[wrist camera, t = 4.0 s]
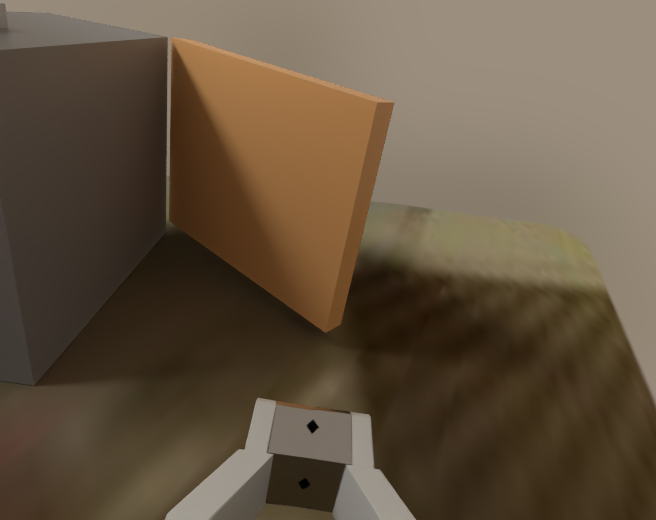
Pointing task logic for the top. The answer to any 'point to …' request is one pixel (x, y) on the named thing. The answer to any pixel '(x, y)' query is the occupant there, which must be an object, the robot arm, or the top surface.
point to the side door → (274, 172)
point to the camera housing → (74, 176)
